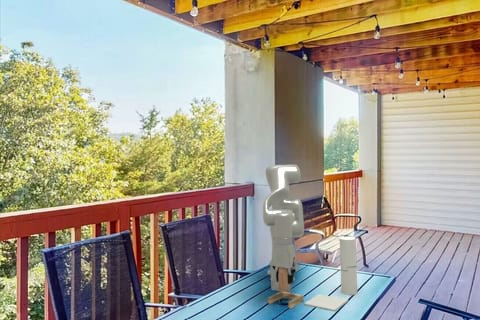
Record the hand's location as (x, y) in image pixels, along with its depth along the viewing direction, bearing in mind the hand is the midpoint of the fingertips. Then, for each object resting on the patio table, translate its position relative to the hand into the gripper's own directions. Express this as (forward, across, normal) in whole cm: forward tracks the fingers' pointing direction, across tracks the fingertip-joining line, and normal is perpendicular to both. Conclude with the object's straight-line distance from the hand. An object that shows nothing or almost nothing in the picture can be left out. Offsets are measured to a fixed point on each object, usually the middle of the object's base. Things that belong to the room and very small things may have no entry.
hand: (284, 281), depth 172 cm
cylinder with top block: (+4, 0, 0) cm, 4 cm away
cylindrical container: (+9, +18, +26) cm, 33 cm away
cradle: (+9, 0, -1) cm, 9 cm away
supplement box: (+10, -12, +14) cm, 21 cm away
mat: (+9, +16, +8) cm, 20 cm away
